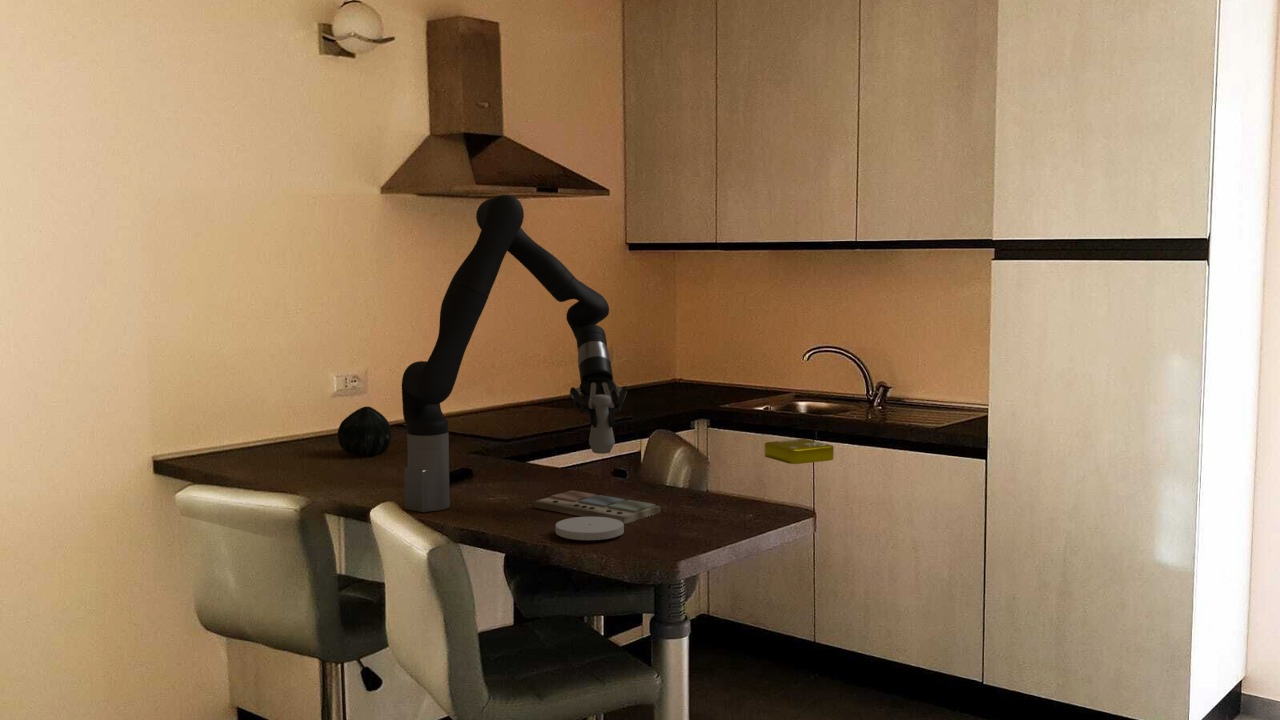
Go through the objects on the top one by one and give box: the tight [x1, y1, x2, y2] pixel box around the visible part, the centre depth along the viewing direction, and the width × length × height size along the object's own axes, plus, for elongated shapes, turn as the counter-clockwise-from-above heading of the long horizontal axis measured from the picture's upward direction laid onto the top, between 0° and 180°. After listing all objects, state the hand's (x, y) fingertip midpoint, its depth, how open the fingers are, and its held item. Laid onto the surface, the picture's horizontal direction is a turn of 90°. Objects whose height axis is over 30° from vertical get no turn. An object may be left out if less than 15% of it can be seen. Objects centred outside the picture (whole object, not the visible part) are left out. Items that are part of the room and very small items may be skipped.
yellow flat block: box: [764, 438, 835, 465], centre depth 321 cm, size 15×15×5 cm
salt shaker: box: [588, 394, 616, 455], centre depth 256 cm, size 6×6×13 cm
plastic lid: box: [555, 516, 625, 541], centre depth 233 cm, size 14×14×2 cm
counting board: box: [533, 490, 661, 525], centre depth 256 cm, size 13×26×2 cm, turn 53°
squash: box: [337, 406, 392, 457], centre depth 326 cm, size 14×15×15 cm
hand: (603, 425), depth 254 cm, fingers closed on salt shaker, 3 cm apart
